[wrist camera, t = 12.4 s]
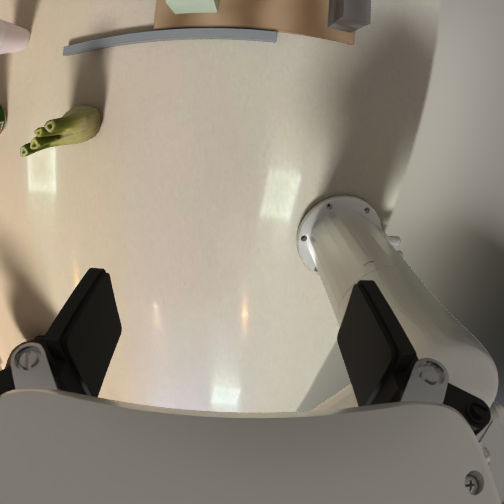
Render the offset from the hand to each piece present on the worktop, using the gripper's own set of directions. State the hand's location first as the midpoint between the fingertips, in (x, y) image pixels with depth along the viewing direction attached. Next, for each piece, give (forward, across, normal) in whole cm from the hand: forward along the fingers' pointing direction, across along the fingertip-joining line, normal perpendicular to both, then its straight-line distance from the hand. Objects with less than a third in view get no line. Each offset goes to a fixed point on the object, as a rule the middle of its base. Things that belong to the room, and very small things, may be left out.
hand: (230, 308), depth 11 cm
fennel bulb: (+29, +20, -5) cm, 35 cm away
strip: (+28, -1, -21) cm, 35 cm away
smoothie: (+28, +33, -20) cm, 48 cm away
